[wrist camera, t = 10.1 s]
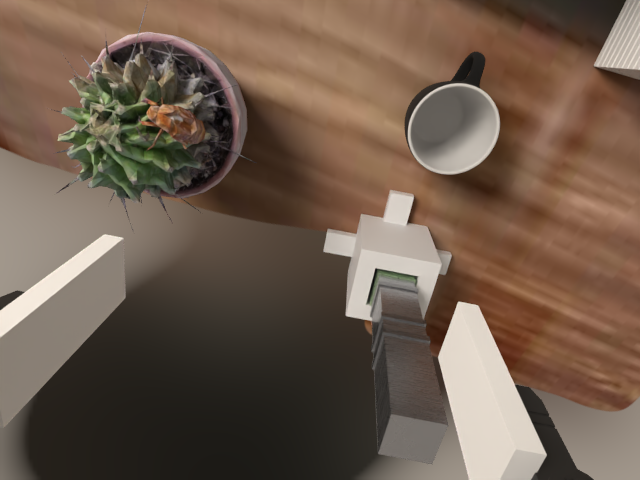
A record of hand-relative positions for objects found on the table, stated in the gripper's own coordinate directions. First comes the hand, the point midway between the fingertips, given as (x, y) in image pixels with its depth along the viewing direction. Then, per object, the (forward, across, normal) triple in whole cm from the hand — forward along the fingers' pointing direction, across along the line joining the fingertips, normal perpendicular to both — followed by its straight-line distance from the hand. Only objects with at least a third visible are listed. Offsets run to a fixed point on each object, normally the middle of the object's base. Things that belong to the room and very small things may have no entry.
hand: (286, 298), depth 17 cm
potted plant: (+40, -17, -1) cm, 43 cm away
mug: (+40, +12, +5) cm, 42 cm away
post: (+33, +10, -15) cm, 37 cm away
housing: (+40, +10, -15) cm, 43 cm away
